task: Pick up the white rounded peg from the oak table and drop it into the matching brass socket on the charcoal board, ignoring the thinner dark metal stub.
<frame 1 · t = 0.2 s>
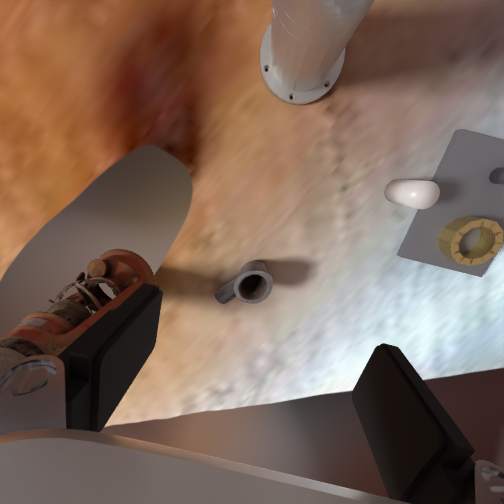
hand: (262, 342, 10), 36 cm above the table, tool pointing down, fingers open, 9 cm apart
white rounded peg: (396, 190, 42), on the table
brass socket: (457, 236, 44), resting on fitting board
lantern: (125, 277, 51), on the table
grey mug: (245, 276, 49), on the table
fitting board: (466, 208, 42), on the table
small stub: (491, 175, 40), resting on fitting board
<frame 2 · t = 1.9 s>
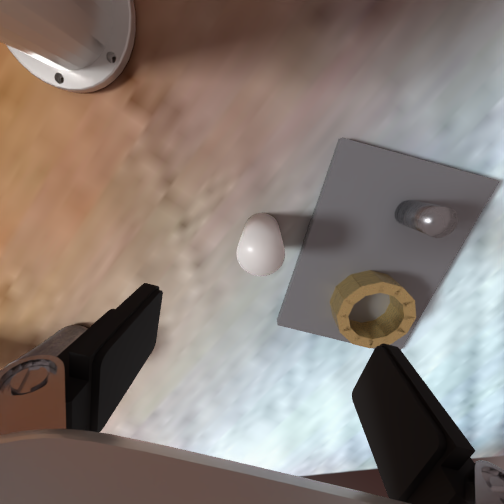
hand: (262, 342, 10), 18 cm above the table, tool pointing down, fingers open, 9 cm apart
white rounded peg: (261, 230, 27), on the table
brass socket: (361, 296, 29), resting on fitting board
grey mug: (71, 343, 35), on the table
fitting board: (370, 258, 28), on the table
small stub: (401, 210, 26), resting on fitting board
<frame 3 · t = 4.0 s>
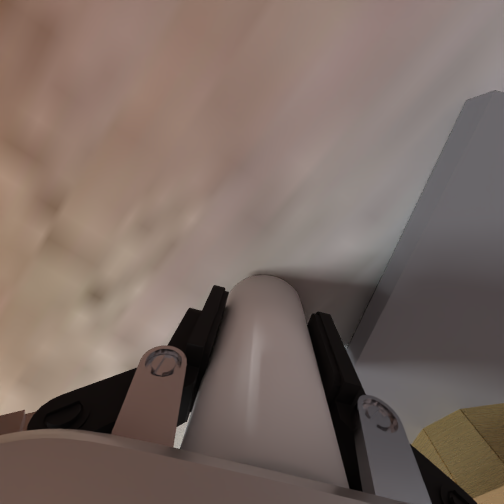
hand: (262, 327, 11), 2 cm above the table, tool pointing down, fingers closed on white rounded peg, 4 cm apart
white rounded peg: (263, 309, 13), on the table, touching gripper
brass socket: (464, 435, 14), resting on fitting board
fitting board: (497, 369, 13), on the table
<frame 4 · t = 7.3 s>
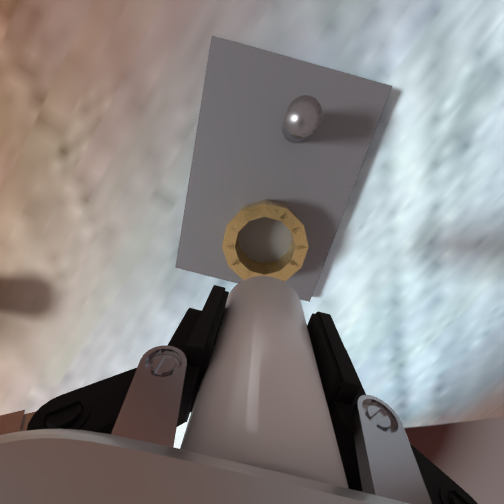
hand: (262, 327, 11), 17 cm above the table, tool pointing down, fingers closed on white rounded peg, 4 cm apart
white rounded peg: (263, 310, 12), point 15 cm above the table, touching gripper
brass socket: (265, 235, 27), resting on fitting board
fitting board: (268, 188, 25), on the table
small stub: (294, 129, 23), resting on fitting board
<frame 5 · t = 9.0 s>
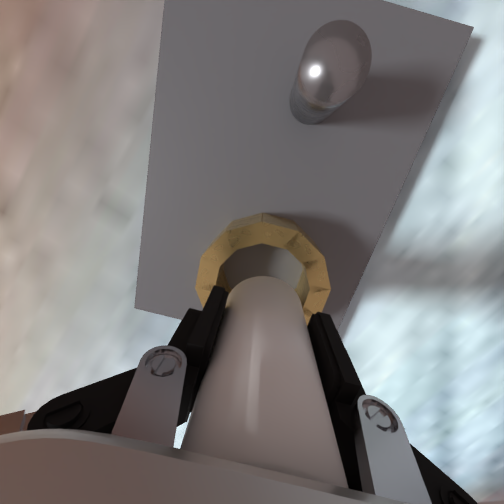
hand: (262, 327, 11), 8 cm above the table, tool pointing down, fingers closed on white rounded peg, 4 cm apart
white rounded peg: (263, 310, 12), point 6 cm above the table, touching gripper
brass socket: (262, 263, 18), resting on fitting board
fitting board: (267, 196, 17), on the table
small stub: (308, 105, 15), resting on fitting board
when the fingers open (5 cm above the table, at t = 10.6 s): white rounded peg drops 2 cm, resting on fitting board.
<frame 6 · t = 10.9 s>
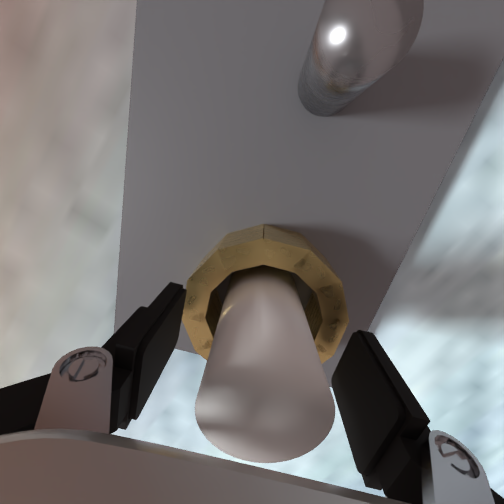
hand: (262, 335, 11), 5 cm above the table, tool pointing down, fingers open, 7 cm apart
white rounded peg: (261, 289, 14), point 1 cm above the table, touching fitting board
brass socket: (264, 281, 16), resting on fitting board
fitting board: (269, 203, 14), on the table
small stub: (320, 92, 12), resting on fitting board
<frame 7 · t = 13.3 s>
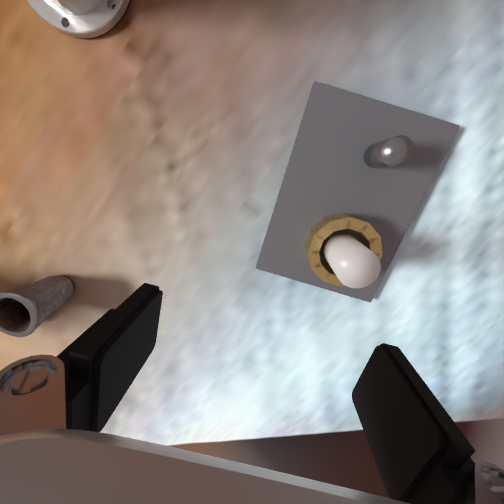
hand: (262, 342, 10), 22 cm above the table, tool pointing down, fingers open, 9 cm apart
white rounded peg: (336, 245, 30), point 1 cm above the table, touching fitting board
brass socket: (335, 243, 31), resting on fitting board
grey mug: (54, 294, 37), on the table
fitting board: (343, 204, 30), on the table
small stub: (371, 156, 28), resting on fitting board
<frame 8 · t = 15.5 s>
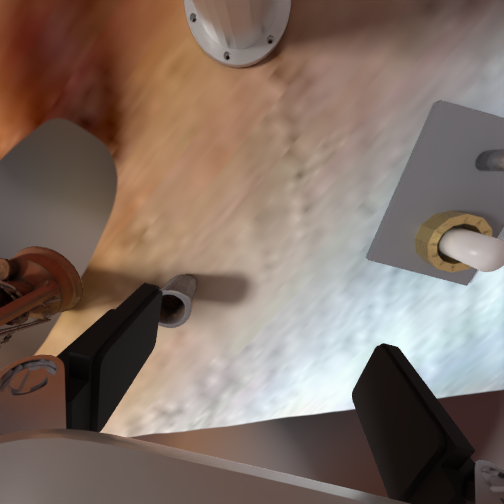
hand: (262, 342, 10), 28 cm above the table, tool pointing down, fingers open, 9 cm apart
white rounded peg: (443, 237, 35), point 1 cm above the table, touching fitting board
brass socket: (438, 236, 36), resting on fitting board
lantern: (48, 280, 43), on the table
grey mug: (175, 291, 42), on the table
fitting board: (449, 202, 35), on the table
small stub: (478, 161, 33), resting on fitting board
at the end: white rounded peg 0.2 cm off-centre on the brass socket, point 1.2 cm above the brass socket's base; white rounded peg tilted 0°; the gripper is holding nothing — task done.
